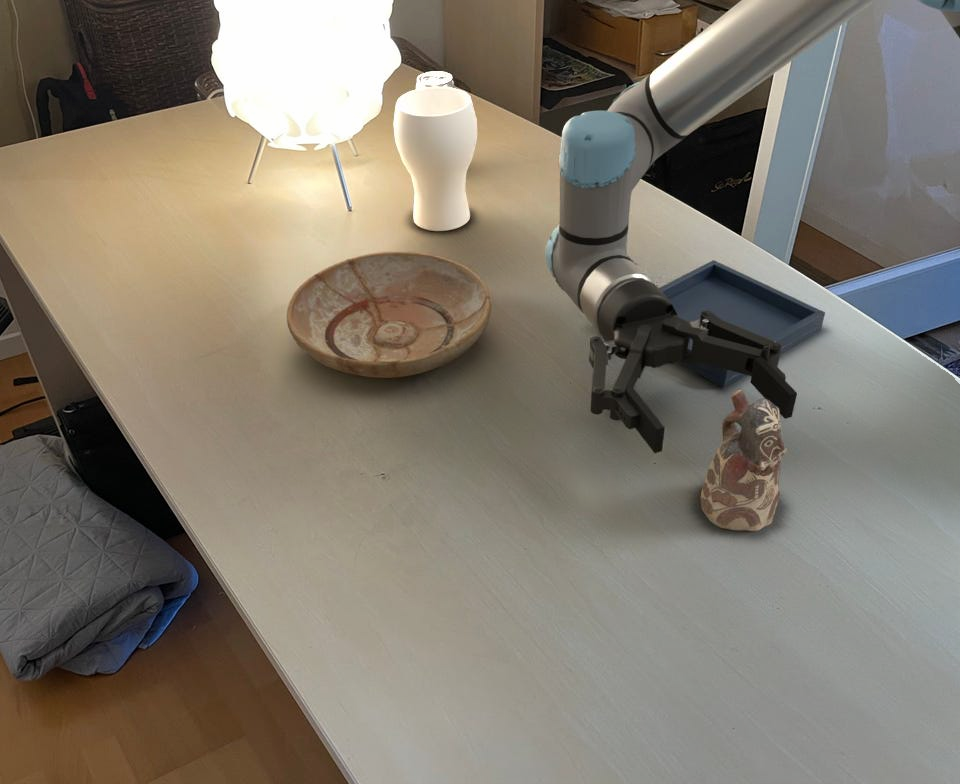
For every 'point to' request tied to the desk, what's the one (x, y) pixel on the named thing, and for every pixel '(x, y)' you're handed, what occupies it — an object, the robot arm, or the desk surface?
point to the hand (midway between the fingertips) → (726, 423)
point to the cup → (437, 152)
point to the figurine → (745, 467)
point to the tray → (740, 310)
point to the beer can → (434, 80)
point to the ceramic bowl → (389, 313)
